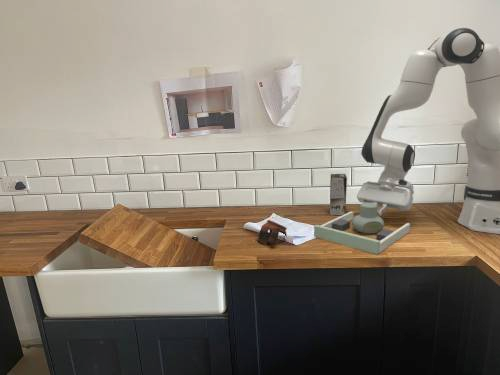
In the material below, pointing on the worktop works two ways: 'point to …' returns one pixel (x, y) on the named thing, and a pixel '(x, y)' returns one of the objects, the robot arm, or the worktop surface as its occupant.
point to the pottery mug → (273, 234)
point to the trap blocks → (344, 225)
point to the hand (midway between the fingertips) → (376, 214)
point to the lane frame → (357, 236)
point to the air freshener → (368, 219)
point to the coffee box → (338, 194)
